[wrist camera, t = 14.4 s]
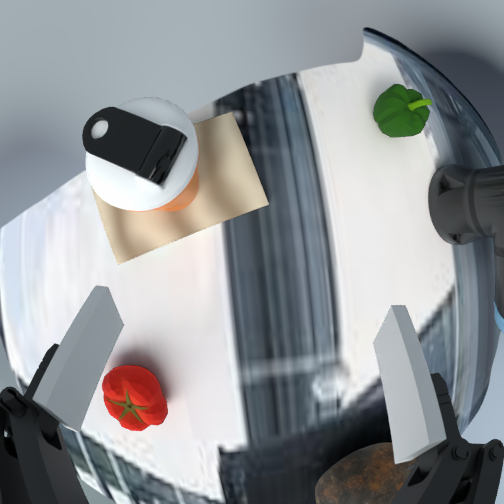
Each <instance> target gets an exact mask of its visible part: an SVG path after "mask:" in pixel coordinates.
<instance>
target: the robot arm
mask: <svg viewBox="0 0 504 504" xmlns="http://www.w3.org/2000/svg"><path fill="white" fill-rule="evenodd" d="M429 210H430V215H431V219H432V222H433V225H434V227H435V229H436V231H437V232H438V234H439V235H440V237H441V238H442V239H443V240H445V241H446V242H448V243H450V244H456V245H464V244H468V243H470V242H473V241H475V240H478V239H480V238H483V237H492V238H493V240H494V256H495V293H494V306H495V314H494V315H495V321H496V323H497V325H498V327H499V328H500V330H501V331H502V332H503V333H504V165H501V166H495V167H488V168H482V169H474V168H470V167H466V166H462V165H458V164H451V165H447V166H443V167H441V168H440V169H438V170H437V171H436V173H435V174H434V176H433V178H432V180H431V184H430V188H429ZM123 326H124V324H123V322H122V319H121V317H120V315H119V313H118V310H117V308H116V305H115V303H114V301H113V298H112V296H111V293H110V291H109V288H108V287H104V286H95V287H94V289H93V290H92V292H91V294H90V295H89V297H88V298H87V300H86V301H85V303H84V304H83V306H82V308H81V309H80V311H79V313H78V314H77V316H76V317H75V319H74V321H73V323H72V324H71V326H70V328H69V329H68V331H67V333H66V335H65V336H64V338H63V340H62V342H61V343H60V345H58V344H54V345H53V346H52V347H51V348H50V349H49V350H48V351H47V352H46V354H45V356H44V358H43V361H42V362H41V363H40V365H39V369H37V371H36V373H35V375H34V377H33V379H32V381H31V383H30V385H29V387H28V389H27V391H26V393H25V395H24V396H23V395H22V394H21V393H20V392H19V391H17V390H16V389H15V388H13V387H6V388H5V389H3V390H2V392H1V393H0V504H89V503H88V500H87V498H86V496H85V494H84V492H83V490H82V488H81V485H80V483H79V480H78V478H77V475H76V473H75V470H74V468H73V465H72V462H71V460H70V457H69V454H68V451H67V448H66V445H65V442H64V439H63V436H62V432H61V430H60V428H59V426H58V425H59V423H61V424H62V425H64V426H65V427H66V428H69V429H71V430H73V431H75V432H78V433H79V432H80V429H81V426H82V423H83V420H84V418H85V415H86V412H87V410H88V407H89V405H90V402H91V399H92V397H93V394H94V392H95V389H96V387H97V384H98V382H99V380H100V377H101V375H102V372H103V370H104V368H105V365H106V363H107V361H108V359H109V356H110V354H111V352H112V350H113V347H114V345H115V343H116V341H117V339H118V337H119V334H120V332H121V330H122V328H123ZM373 344H374V349H375V353H376V357H377V361H378V366H379V370H380V375H381V380H382V385H383V390H384V395H385V400H386V406H387V412H388V417H389V424H390V430H391V437H392V444H393V452H394V460H395V464H397V463H402V462H406V461H410V460H412V459H414V458H416V457H418V461H417V462H415V463H413V464H411V465H410V466H409V467H408V468H407V469H408V470H409V469H412V468H413V469H412V471H411V473H410V474H409V476H408V477H407V479H406V481H405V482H404V484H403V485H402V487H401V488H400V490H399V491H398V493H397V494H396V496H395V497H394V499H393V500H392V502H391V503H390V504H495V499H496V496H497V491H498V487H499V483H500V478H501V472H502V466H503V460H504V446H503V444H502V442H501V441H500V440H498V439H493V440H491V441H490V442H488V443H486V444H471V443H468V441H466V440H465V439H463V438H462V437H461V436H460V433H459V430H458V426H457V422H456V418H455V414H454V410H453V406H452V403H451V399H450V396H449V395H448V393H449V392H448V389H447V386H446V382H445V381H444V379H443V378H442V377H441V375H440V374H439V373H435V374H430V373H429V369H428V366H427V363H426V360H425V357H424V354H423V351H422V348H421V345H420V343H419V340H418V337H417V334H416V332H415V329H414V326H413V324H412V321H411V318H410V316H409V313H408V311H407V308H406V306H405V305H391V307H390V309H389V311H388V314H387V316H386V318H385V320H384V322H383V324H382V326H381V328H380V330H379V332H378V334H377V336H376V338H375V340H374V342H373ZM4 431H5V432H7V437H5V436H4Z"/></svg>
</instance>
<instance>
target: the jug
mask: <svg viewBox="0 0 504 504" xmlns="http://www.w3.org/2000/svg"><path fill="white" fill-rule="evenodd" d="M417 461H418V457H416V458H414V459H412V460H410V461H406V462H402V463H397V464H395V460H394V452H393V444H392V443H378V444H374V445H370V446H368V447H365V448H362V449H359V450H357V451H355V452H353V453H351V454H349V455H348V456H346V457H344V458H343V459H341V460H340V461H338V462H337V463H336V464H334V465H333V466H332V467H330V468H329V469H328V470H327V471H326V472H325V473H324V474H323V475H322V476H321V478H320V479H319V481H318V483H317V485H316V489H315V495H316V503H317V504H390V503H391V502H392V500H393V499H394V497H395V496H396V494H397V493H398V491H399V490H400V488H401V487H402V485H403V484H404V482H405V481H406V479H407V477H408V476H409V474H410V473H411V471H412V469H413V468H412V469H409V470H408V469H407V468H408V467H409V466H410V465H411V464H413V463H415V462H417Z"/></svg>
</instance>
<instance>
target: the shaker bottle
mask: <svg viewBox="0 0 504 504" xmlns="http://www.w3.org/2000/svg"><path fill="white" fill-rule="evenodd" d="M82 136H83V137H82V138H83V145H84V147H85V149H86V151H87V152H86V171H87V176H88V178H89V181H90V184H91V186H92V187H93V189H94V190H95V192H96V193H97V194H98V195H99V196H100V197H101V198H102V199H103V200H104V201H106V202H107V203H109V204H110V205H112V206H115V207H118V208H121V209H125V210H128V211H135V212H144V211H151V210H160V211H178V210H181V209H183V208H185V207H187V206H188V205H190V204H191V203H192V201H193V200H194V199H195V197H196V195H197V193H198V190H199V174H198V160H199V143H198V138H197V135H196V132H195V128H194V126H193V124H192V122H191V119H190V118H189V117H188V115H187V114H186V113H185V112H184V111H183V110H182V109H181V108H179V107H178V106H177V105H176V104H174V103H172V102H169V101H168V100H164V99H160V98H153V97H145V98H138V99H134V100H131V101H128V102H125V103H123V104H121V105H120V106H118V107H108V108H104V109H102V110H100V111H99V112H97V113H95V114H94V115H93V116H92V117H90V118H89V120H88V121H87V123H86V124H85V126H84V129H83V134H82Z"/></svg>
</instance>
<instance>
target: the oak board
mask: <svg viewBox="0 0 504 504" xmlns="http://www.w3.org/2000/svg"><path fill="white" fill-rule="evenodd" d="M193 126H194V128H195V132H196V135H197V138H198V143H199V160H198V174H199V190H198V193H197V195H196V197H195V199H194V200H193V201H192V203H191V204H190V205H188V206H187V207H185V208H183V209H181V210H178V211H160V210H151V211H144V212H135V211H128V210H125V209H121V208H118V207H115V206H112V205H110V204H109V203H107V202H106V201H104V200H103V199H102V198H101V197H100V196H99V195H98V194H97V193H96V192H95V190H94V189H93V187H92V186H91V187H92V190H93V194H94V197H95V200H96V204H97V207H98V210H99V213H100V216H101V220H102V223H103V226H104V228H105V231H106V234H107V237H108V240H109V243H110V245H111V248H112V251H113V254H114V256H115V259H116V261H117V264H118V265H119V264H121V263H124V262H126V261H128V260H131V259H133V258H135V257H138V256H140V255H142V254H145V253H147V252H149V251H152V250H154V249H157V248H159V247H161V246H164V245H166V244H169V243H171V242H173V241H176V240H178V239H181V238H183V237H186V236H188V235H191V234H193V233H196V232H198V231H201V230H203V229H206V228H208V227H211V226H213V225H216V224H218V223H221V222H224V221H226V220H229V219H231V218H234V217H237V216H239V215H242V214H245V213H247V212H250V211H253V210H255V209H258V208H261V207H263V206H266V205H268V204H269V203H268V201H267V198H266V195H265V193H264V190H263V188H262V185H261V183H260V180H259V177H258V175H257V172H256V170H255V167H254V165H253V162H252V160H251V157H250V155H249V152H248V150H247V147H246V145H245V142H244V140H243V137H242V135H241V132H240V130H239V127H238V125H237V123H236V120H235V118H234V115H233V113H232V112H230V113H226V114H223V115H220V116H217V117H214V118H211V119H208V120H205V121H202V122H199V123H197V124H194V125H193Z"/></svg>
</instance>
